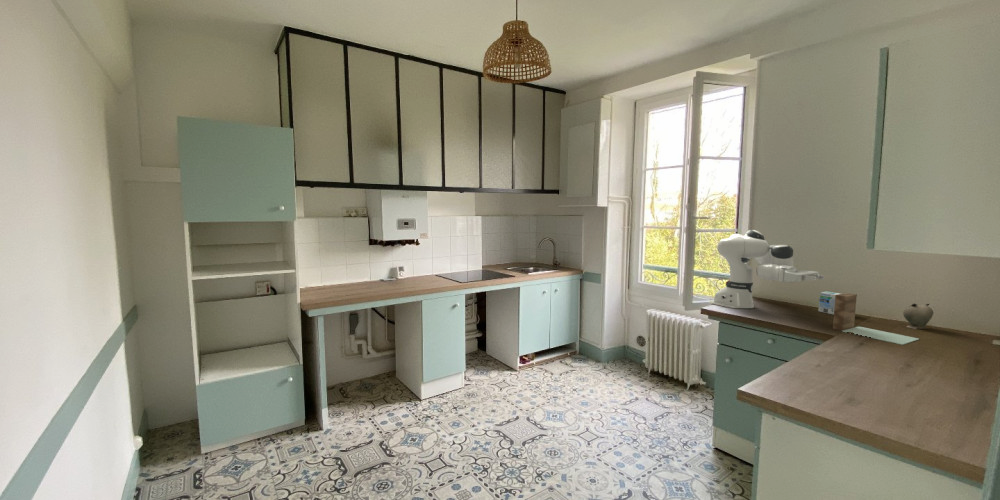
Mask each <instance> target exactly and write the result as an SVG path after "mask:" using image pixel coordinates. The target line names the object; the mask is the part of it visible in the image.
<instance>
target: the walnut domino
mask: <svg viewBox="0 0 1000 500" xmlns="http://www.w3.org/2000/svg"><path fill="white" fill-rule="evenodd" d="M857 296H858V295H857V294H856V293H850V292H845V293H840V294H838V295H835V307H834V315H833V319H832V320H833V323H832V329H833V330H838V331H841V332H842V331H843V330H847V329H851V328H855V319H856V318H855V317H856V306H857Z"/></svg>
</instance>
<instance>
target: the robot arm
mask: <svg viewBox="0 0 1000 500" xmlns="http://www.w3.org/2000/svg"><path fill="white" fill-rule="evenodd" d="M716 249H717V252H718V254H719V255H720V256H722V258H724V259H725V260H726V262H727V264H728V266H729V274H730V275H729V279H728V280H727V281H726V282H725V287H723V288H721V289H720V290H718V291H716V292H715V295H714V298H712V299H711V300H709V304H711V305H717V306H722V307H726V308H731V309H753V308H755V305H754V300H753V291H754V285H753V284H754V282H753V276H754V275H753V273H754V269H753V268H752V266H751V265H749V264H748V262H749V261H750V260H751V259H755V261H756V263H758V265H757V266H756V271H755V272H756V276H757V277H758V278H760V279H763V280H768V281H778V282H779V283H788V284H793V283H799V282H805V281H818V280H824V279H825V276H824V275H820V272H819V271H814V270H799V269H798V268H797V267H796V266H794V248H792V247H791V246H790V245H788V244H769V243H768V241H767V240H766V239H765V236H764V234H762V233H761V231H759V230H756V229H749V230H747V231H746V232H745V234H744V235H743V234H741V233H734V234H733V233H732V234H731V235H730V236H729V237H728V238H722V239H720V241H719V242H718V243H717V248H716Z"/></svg>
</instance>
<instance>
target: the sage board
mask: <svg viewBox="0 0 1000 500" xmlns="http://www.w3.org/2000/svg"><path fill="white" fill-rule="evenodd" d="M841 332H842V333H847V332H853V333H854V334H853V335H856V334H858V335H857V336H860V335H862V337H865V336H867V337H866V338H869V337H871V338H870V339H873V340H874V339H875V340H879V341H883V342H887V343H893V344H897V345H901V346H902V345H903V346H904V345H906V344H910V343H912V342H915V341H919V340H920V338H917V337H914V336H908V335H903V334H899V333H893V332H887V331H884V330H878V329H873V328H868V327H863V326H854V328H851V329H847V330H843V331H841Z"/></svg>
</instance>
